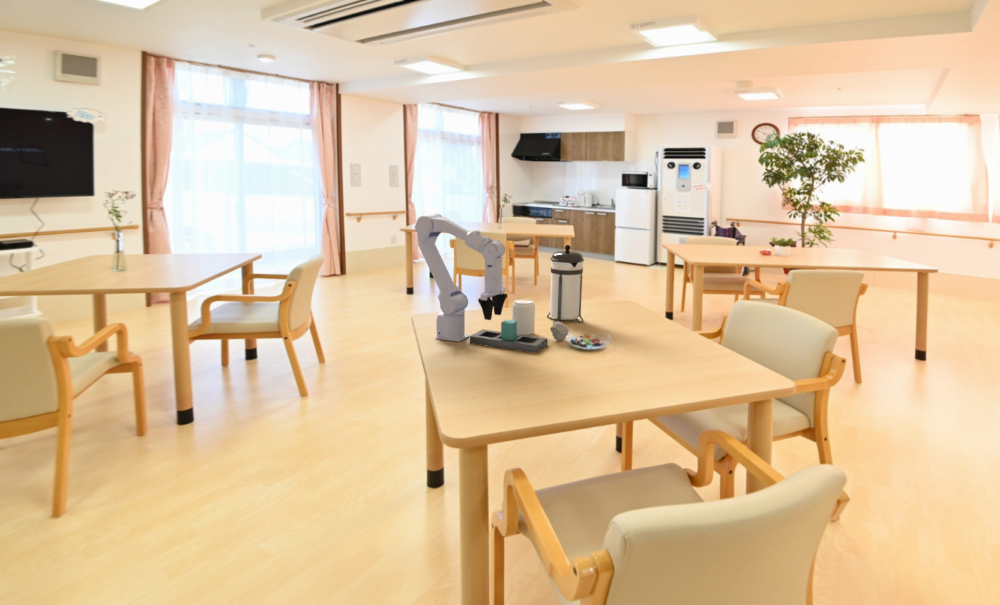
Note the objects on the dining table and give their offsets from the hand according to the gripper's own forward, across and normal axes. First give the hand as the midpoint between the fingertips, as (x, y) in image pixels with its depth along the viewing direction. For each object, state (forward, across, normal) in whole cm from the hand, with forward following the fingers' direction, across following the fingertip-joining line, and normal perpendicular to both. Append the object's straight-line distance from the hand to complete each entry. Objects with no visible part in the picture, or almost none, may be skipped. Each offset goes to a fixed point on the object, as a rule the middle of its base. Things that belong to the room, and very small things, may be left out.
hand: (492, 317), depth 203 cm
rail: (+9, +2, -5) cm, 11 cm away
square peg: (+9, +2, -5) cm, 11 cm away
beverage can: (+10, +17, -4) cm, 20 cm away
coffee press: (+10, +43, -10) cm, 45 cm away
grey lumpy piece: (+10, +14, -19) cm, 25 cm away
